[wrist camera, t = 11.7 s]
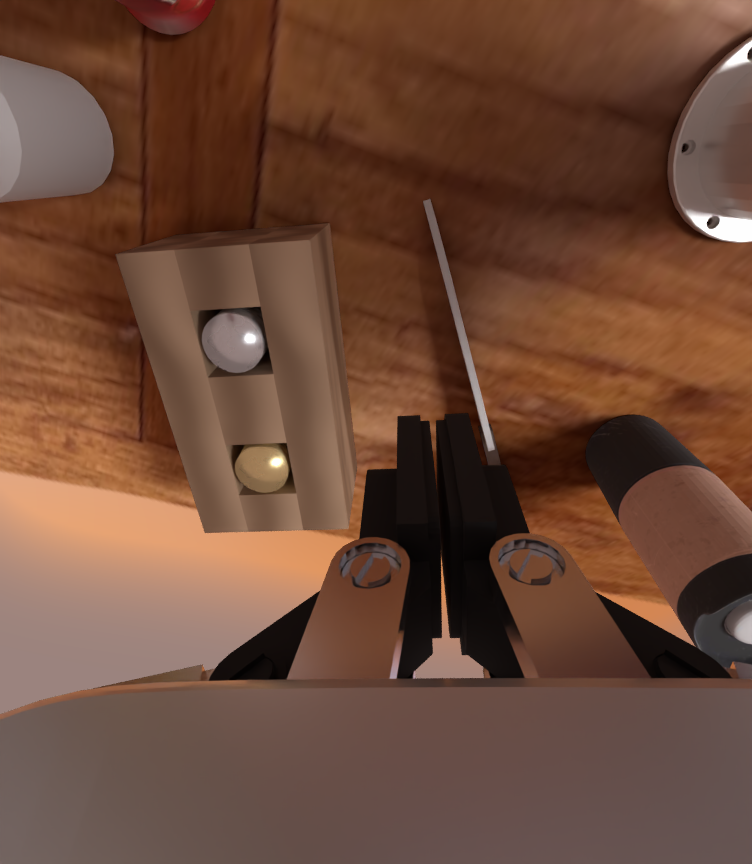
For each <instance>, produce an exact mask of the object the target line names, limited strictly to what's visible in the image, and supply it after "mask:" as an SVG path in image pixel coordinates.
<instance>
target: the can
mask: <svg viewBox="0 0 752 864" xmlns="http://www.w3.org/2000/svg"><path fill="white" fill-rule="evenodd" d="M113 157H114V148H113V137H112V133H111V130H110V127H109V124H108V122H107V119H106V116H105V114H104V112H103V111H102V109H101V108H100V106H99V105H98V103H97V102H96V100H95V99H94V97H93V96H92V95H91V94H90V93H89V92H88V91H87V90H86V89H85V88H84V87H83V86H82V85H81V84H80V83H79V82H78V81H76V80H74V79H73V78H71V77H69V76H67V75H65V74H64V73H62V72H60V71H57V70H53V69H49V68H46V67H42V66H38V65H34V64H31V63H27V62H23V61H20V60H16V59H12V58H8V57H5V56H1V55H0V203H1V202H11V201H21V200H31V199H41V198H51V197H61V196H71V195H79V194H84V193H90V192H92V191H93V190H95V189H96V188H98V187H99V186H101V185H102V184H103V183H104V181H105V180H106V178H107V176H108V175H109V173H110V172H111V167H112V162H113Z"/></svg>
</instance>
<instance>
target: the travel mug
mask: <svg viewBox="0 0 752 864" xmlns="http://www.w3.org/2000/svg"><path fill="white" fill-rule="evenodd" d="M586 461H587V464H588V467H589V469H590V471H591V472H592V474H593V476H594V478H595V480H596V482H597V484H598V485H599V487H600V489H601V491H602V493H603V494H604V496H605V498H606V500H607V502H608V504H609V505H610V507H611V509H612V511H613V513H614V515H615V516H616V518H617V520H618V522H619V524H620V525H621V527H622V529H623V531H624V532H625V534H626V535H627V537H628V539H629V540H630V542H631V543H632V545H633V547H634V548H635V550H636V551H637V553H638V555H639V556H640V558H641V559H642V561H643V563H644V564H645V566H646V567H647V569H648V571H649V572H650V574H651V575H652V577H653V579H654V580H655V582H656V584H657V585H658V587H659V588H660V590H661V592H662V593H663V595H664V596H665V598H666V600H667V601H668V603H669V604H670V606H671V608H672V609H673V611H674V612H675V614H676V615H677V617H678V619H679V620H680V622H681V624H682V625H683V627H684V629H685V630H686V632H687V633H688V635H689V636H690V638H691V640H692V641H693V643H694V645H695V646H696V648H698V649H700V650H701V651H703V652H704V653H706V654H707V655H709V656H710V657H712V658H713V659H715V660H716V661H717V662H718V663H719V664H720V665H721V666H722V667H727V668H730V667H731V665H732V662H733V661H734V662H740V663H745V664H751V665H752V512H751V511H750V510H749V509H748V508H747V507H746V506H745V505H744V504H743V503H742V501H741V500H740V499H739V498H738V497H737V496H736V495H735V494H734V493H733V492H732V491H731V490H730V489H729V488H728V487H727V486H726V485H725V484H724V483H723V482H722V481H721V480H720V479H719V478H718V477H717V476H716V475H715V474H714V473H713V472H712V471H711V470H709V469H708V468H707V467H706V466H705V465H704V464H703V463H702V462H701V461H700V460H699V459H697V458H696V457H695V456H694V455H693V454H692V453H691V452H690V451H689V450H688V449H686V448H685V447H684V446H683V445H682V444H681V443H680V442H679V441H678V440H677V439H676V438H674V437H673V436H672V435H671V434H670V433H669V432H668V431H667V430H666V429H665V428H663V427H662V426H661V425H660V424H659V423H657V422H656V421H654V420H653V419H651V418H648V417H645V416H641V415H627V416H622V417H618V418H615V419H613V420H611V421H609V422H607V423H605V424H604V425H602V426H601V427H600V428H599V429H598V430H597V431H596V432H595V433H594V434H593V435H592V437H591V438H590V440H589V442H588V444H587V448H586Z"/></svg>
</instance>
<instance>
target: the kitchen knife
mask: <svg viewBox="0 0 752 864" xmlns="http://www.w3.org/2000/svg"><path fill="white" fill-rule="evenodd" d="M423 203H424V207H425V211H426V214H427V218H428V222H429V226H430V230H431V233H432V237H433V241H434V245H435V249H436V253H437V257H438V260H439V264H440V268H441V272H442V276H443V280H444V284H445V288H446V291H447V295H448V299H449V303H450V307H451V311H452V315H453V319H454V322H455V326H456V330H457V334H458V338H459V342H460V346H461V350H462V353H463V357H464V361H465V365H466V369H467V373H468V377H469V381H470V384H471V388H472V392H473V396H474V400H475V404H476V408H477V412H478V415H479V419H480V423H481V426H479V427H478V428H479V431H480V435H481V439H482V443H483V447H484V450H485V454H486V458H487V462H488V465H501V463H500V459H499V455H498V451H497V447H496V443H495V439H494V435H493V431H492V428H491V425H490V424H488V420H487V416H486V412H485V408H484V404H483V400H482V396H481V392H480V388H479V384H478V380H477V376H476V372H475V368H474V364H473V361H472V357H471V353H470V349H469V345H468V341H467V337H466V333H465V329H464V325H463V321H462V317H461V313H460V309H459V305H458V301H457V297H456V293H455V289H454V286H453V282H452V278H451V274H450V270H449V266H448V262H447V259H446V255H445V251H444V247H443V243H442V240H441V236H440V232H439V228H438V225H437V221H436V217H435V214H434V210H433V207H432V203H431V199H428V200H425V201H423Z"/></svg>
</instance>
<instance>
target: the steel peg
mask: <svg viewBox="0 0 752 864" xmlns="http://www.w3.org/2000/svg"><path fill="white" fill-rule="evenodd" d="M202 345H203V348H204V351H205V353H206V355H207V356H208V358H209V359H210V360H211V361H212V362H213V363H214V364H215V365H216V366H218V367H219V368H221V369H223V370H225V371H228V372H233V373H241V372H246V371H248V370H250V369H252V368H253V367H255V366H256V365H257V364H258V362H259V361H260V359H261V358H262V357H263V355H264V354H265V352H266V351H267V350H268V343H267V338H266V333H265V327H264V322H263V317H262V312H261V307H245V308H230V309H223V310H222V311H221V312H219V313H218V314H217V315H216V316H214V317H213V318H212V319H211V320H210V321H209V322H208V323H207V324H206V326H205V327H204V330H203V333H202Z"/></svg>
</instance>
